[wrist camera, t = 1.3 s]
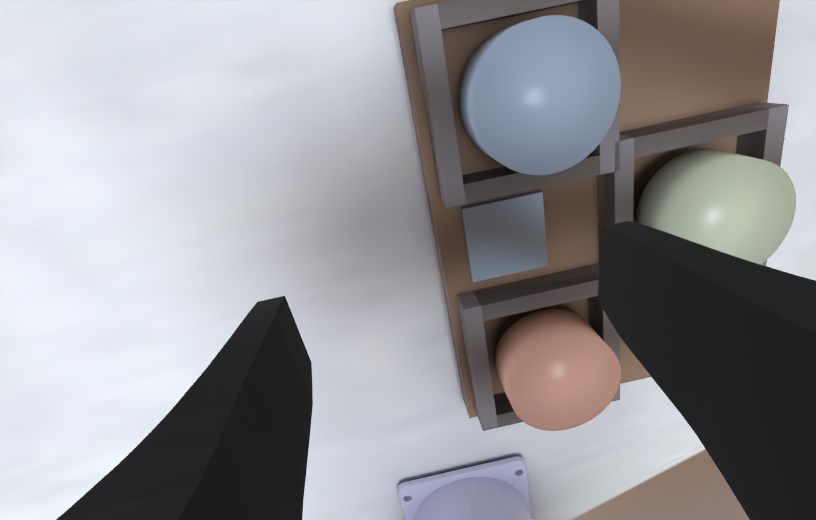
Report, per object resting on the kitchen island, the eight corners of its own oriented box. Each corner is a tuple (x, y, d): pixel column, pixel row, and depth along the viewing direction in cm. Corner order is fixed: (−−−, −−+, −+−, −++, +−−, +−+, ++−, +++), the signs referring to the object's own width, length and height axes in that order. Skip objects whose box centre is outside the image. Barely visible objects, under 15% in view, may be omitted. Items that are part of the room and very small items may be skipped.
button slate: (589, 148, 18) (621, 159, 16) (468, 173, 18) (483, 188, 16) (585, 9, 16) (620, 0, 14) (449, 37, 16) (463, 32, 14)
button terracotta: (595, 383, 23) (621, 416, 21) (500, 405, 23) (515, 441, 21) (593, 298, 21) (621, 325, 19) (488, 321, 21) (504, 351, 19)
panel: (716, 342, 26) (757, 374, 24) (463, 399, 26) (476, 438, 23) (756, -67, 18) (827, -91, 16) (393, 8, 18) (400, -3, 15)
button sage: (740, 246, 21) (785, 267, 19) (635, 270, 21) (668, 293, 19) (753, 137, 19) (805, 146, 17) (636, 162, 19) (674, 174, 17)
